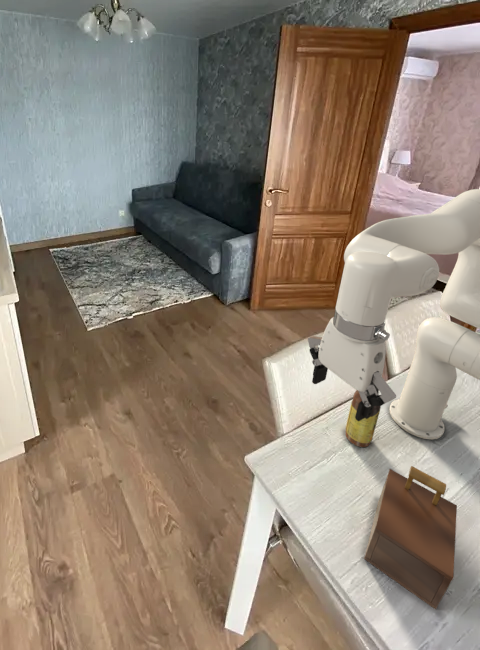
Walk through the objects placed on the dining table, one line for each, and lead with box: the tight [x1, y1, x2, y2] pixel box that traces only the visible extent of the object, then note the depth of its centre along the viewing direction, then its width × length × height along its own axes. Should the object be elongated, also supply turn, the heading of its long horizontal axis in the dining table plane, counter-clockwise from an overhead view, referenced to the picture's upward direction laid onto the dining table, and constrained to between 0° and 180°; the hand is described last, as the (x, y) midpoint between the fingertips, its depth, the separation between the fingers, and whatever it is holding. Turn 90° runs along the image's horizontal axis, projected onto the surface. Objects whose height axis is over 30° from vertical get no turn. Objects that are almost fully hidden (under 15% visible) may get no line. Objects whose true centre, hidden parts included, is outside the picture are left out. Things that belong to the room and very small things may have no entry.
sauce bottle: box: [344, 385, 382, 448], centre depth 86 cm, size 7×6×20 cm
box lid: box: [375, 465, 458, 582], centre depth 63 cm, size 14×11×6 cm
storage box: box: [363, 477, 452, 610], centre depth 65 cm, size 13×11×9 cm
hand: (339, 398), depth 65 cm, fingers open, 9 cm apart
